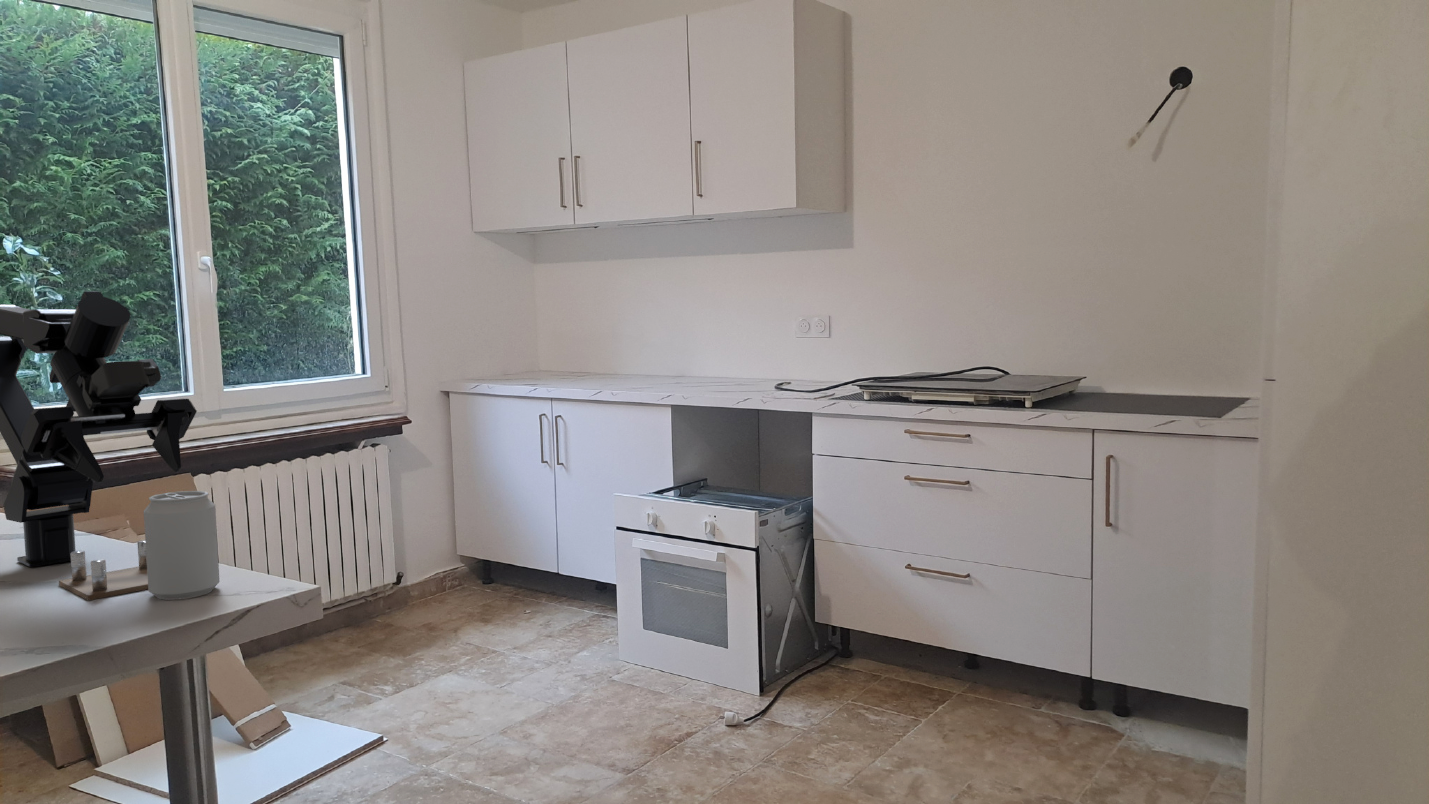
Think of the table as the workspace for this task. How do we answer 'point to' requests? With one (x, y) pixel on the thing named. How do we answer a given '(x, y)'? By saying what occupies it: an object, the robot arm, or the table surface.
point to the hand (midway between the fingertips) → (141, 474)
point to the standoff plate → (105, 577)
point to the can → (181, 545)
